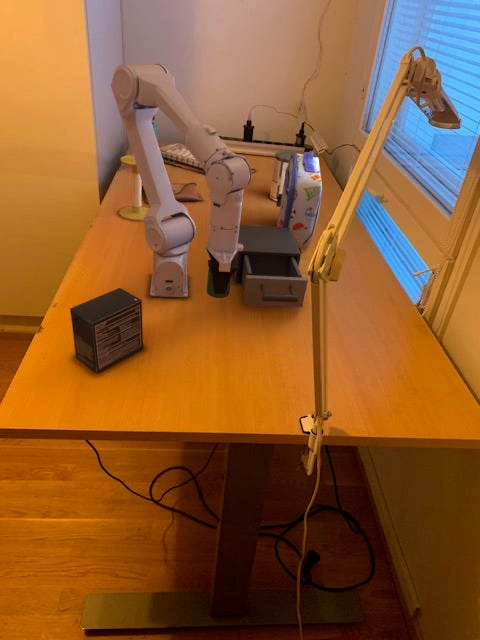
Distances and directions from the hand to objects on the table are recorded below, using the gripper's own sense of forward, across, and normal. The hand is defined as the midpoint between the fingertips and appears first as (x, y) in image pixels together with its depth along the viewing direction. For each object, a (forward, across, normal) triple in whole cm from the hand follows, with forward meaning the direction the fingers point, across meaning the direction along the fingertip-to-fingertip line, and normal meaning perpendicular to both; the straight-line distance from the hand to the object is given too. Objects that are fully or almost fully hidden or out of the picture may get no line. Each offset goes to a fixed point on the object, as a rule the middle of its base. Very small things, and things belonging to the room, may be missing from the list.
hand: (218, 286), depth 99 cm
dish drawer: (+5, +5, -12) cm, 14 cm away
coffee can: (+6, +71, -27) cm, 76 cm away
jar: (+1, 0, 0) cm, 1 cm away
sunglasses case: (+6, +64, +10) cm, 65 cm away
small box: (+6, -15, +20) cm, 26 cm away
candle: (+6, +50, +20) cm, 54 cm away
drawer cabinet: (+6, +19, -12) cm, 23 cm away
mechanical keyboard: (+6, +102, 0) cm, 102 cm away
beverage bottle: (+6, +88, +19) cm, 90 cm away
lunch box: (+6, +41, -24) cm, 48 cm away
